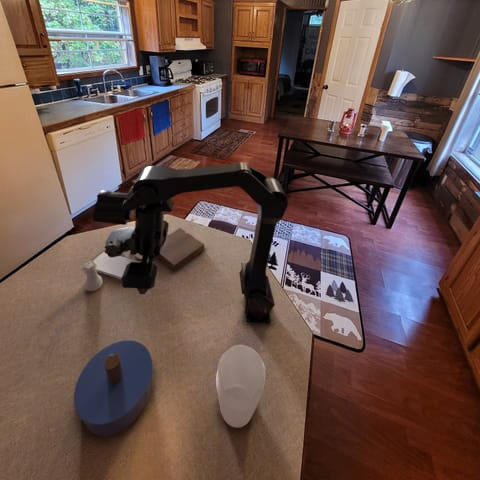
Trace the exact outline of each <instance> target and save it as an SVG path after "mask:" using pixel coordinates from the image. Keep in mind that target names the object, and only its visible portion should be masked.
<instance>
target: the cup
mask: <svg viewBox="0 0 480 480" xmlns="http://www.w3.org/2000/svg"><path fill="white" fill-rule="evenodd" d="M217 364H218V365H217V371H216V376H215V385H216V392H217V397H218V403H219V409H220V413H221V416H222V418H223V420H224V421H225V422H226V424H227V425H228V426H230V427H231V428H236V429H237V428H238V429H239V428H242V427H244V426H246V425H248V423H249V422H250V420H251V419H252V417H253V415H254V414H255V411H256V409H257V407H258V405H259V403H260V401H261V399H262V397H263V394H264V390H265V383H266V382H265V380H266V367H265V363H264V361H263V359H262V357H261V356H260V354H259V353H258V351H256V350H255V349H254V348H253V347H251V346H249V345H246V344H236V345H232V346H230V347H229V348H227V349H226V350H225V351H224V352H223V354H221V357H219V361H218V363H217Z"/></svg>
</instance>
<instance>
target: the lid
mask: <svg viewBox="0 0 480 480" xmlns="http://www.w3.org/2000/svg"><path fill="white" fill-rule="evenodd" d="M152 375H153V360H152V355H151V353H150V351H149V349H148V348H147V347H146V346H145V345H144V344H142V343H141V342H139V341H136V340H130V339H126V340H125V339H124V340H119V341H115V342H113V343H111V344H109V345H107V346H105V347H104V348H102V349H101V350H99V351H98V352H97V353H96V354H95V355H93V356H92V357H91V359H90V360H89V361H88V362H87V363H86V364H85V366H84V368H83V369H82V370H81V372H80V375H79V377H78V379H77V381H76V383H75V387H74V393H73V405H74V409H75V412H76V413H77V416H78V417H79V418H80V419H81V420H82V421H83V422H86V423H88V424H90V425H95V426H102V425H108V424H111V423H114V422H116V421H118V420H120V419H121V418H123V417H124V416H126V415H127V414H128V413H129V412H131V411H132V410H133V409H134V408H135V407H136V406H137V404H138V403H139V402H140V401H141V399H142V398H143V396H144V394H145V393H146V391H147V389H148V386H149V384H150V380H152V377H153V376H152Z"/></svg>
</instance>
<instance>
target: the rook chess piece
mask: <svg viewBox="0 0 480 480" xmlns="http://www.w3.org/2000/svg"><path fill="white" fill-rule="evenodd" d="M96 267H97V264H96V263H95V262H94V261H93V260H92V261H90V260H89V261H88V262H86V263H85V264H84V266H83V271H84V273H85V275H86V279H85V282H84V288H85V290H86V291H89V292H94V291H96V290H98V289H99V288H100V287H101V286H102V285H103V278H102V276H101V275H99V274H98V272H97V268H96Z"/></svg>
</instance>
